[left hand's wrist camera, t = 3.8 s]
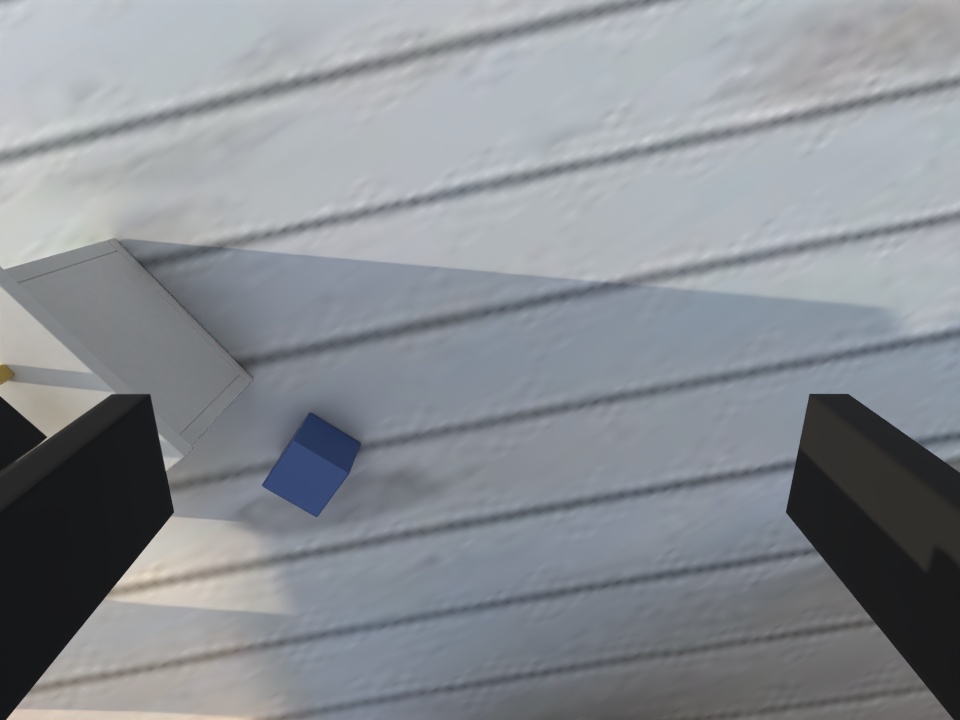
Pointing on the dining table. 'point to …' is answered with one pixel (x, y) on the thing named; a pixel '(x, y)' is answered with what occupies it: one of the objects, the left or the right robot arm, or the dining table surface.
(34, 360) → the lid
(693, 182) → the dining table surface
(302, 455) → the block
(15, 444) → the right robot arm
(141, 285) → the chest
